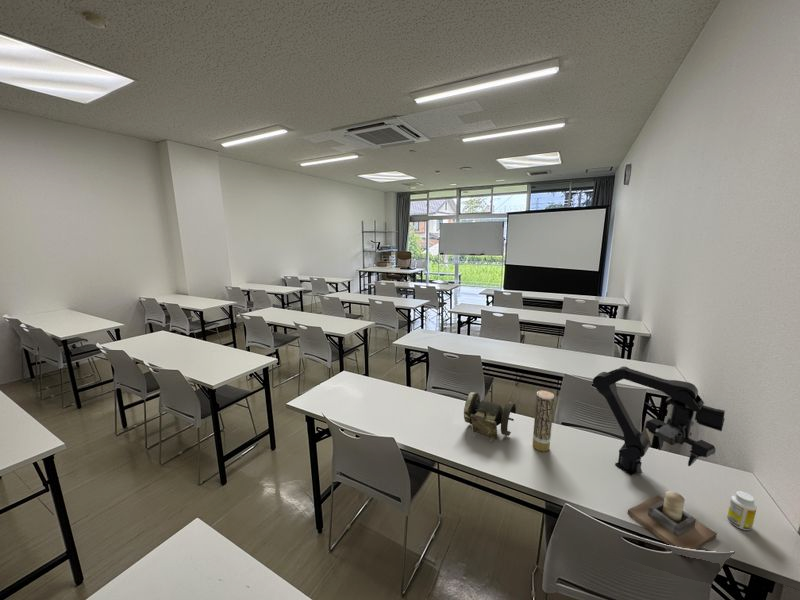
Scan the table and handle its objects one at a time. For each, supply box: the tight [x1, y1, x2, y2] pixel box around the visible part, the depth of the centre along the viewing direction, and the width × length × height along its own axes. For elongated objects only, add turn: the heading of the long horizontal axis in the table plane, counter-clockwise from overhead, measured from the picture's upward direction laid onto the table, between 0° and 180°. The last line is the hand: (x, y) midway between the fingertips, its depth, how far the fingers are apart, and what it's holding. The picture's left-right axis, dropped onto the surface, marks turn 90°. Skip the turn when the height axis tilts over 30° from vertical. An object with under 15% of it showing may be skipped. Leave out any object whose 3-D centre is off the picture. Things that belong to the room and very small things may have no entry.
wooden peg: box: [662, 490, 685, 524], centre depth 101 cm, size 4×4×9 cm
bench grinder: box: [463, 391, 517, 443], centre depth 149 cm, size 20×22×20 cm
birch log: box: [532, 390, 555, 452], centre depth 137 cm, size 7×7×25 cm
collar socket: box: [627, 494, 718, 550], centre depth 101 cm, size 16×16×4 cm
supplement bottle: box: [726, 490, 757, 531], centre depth 101 cm, size 6×6×10 cm
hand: (674, 457), depth 115 cm, fingers open, 9 cm apart
